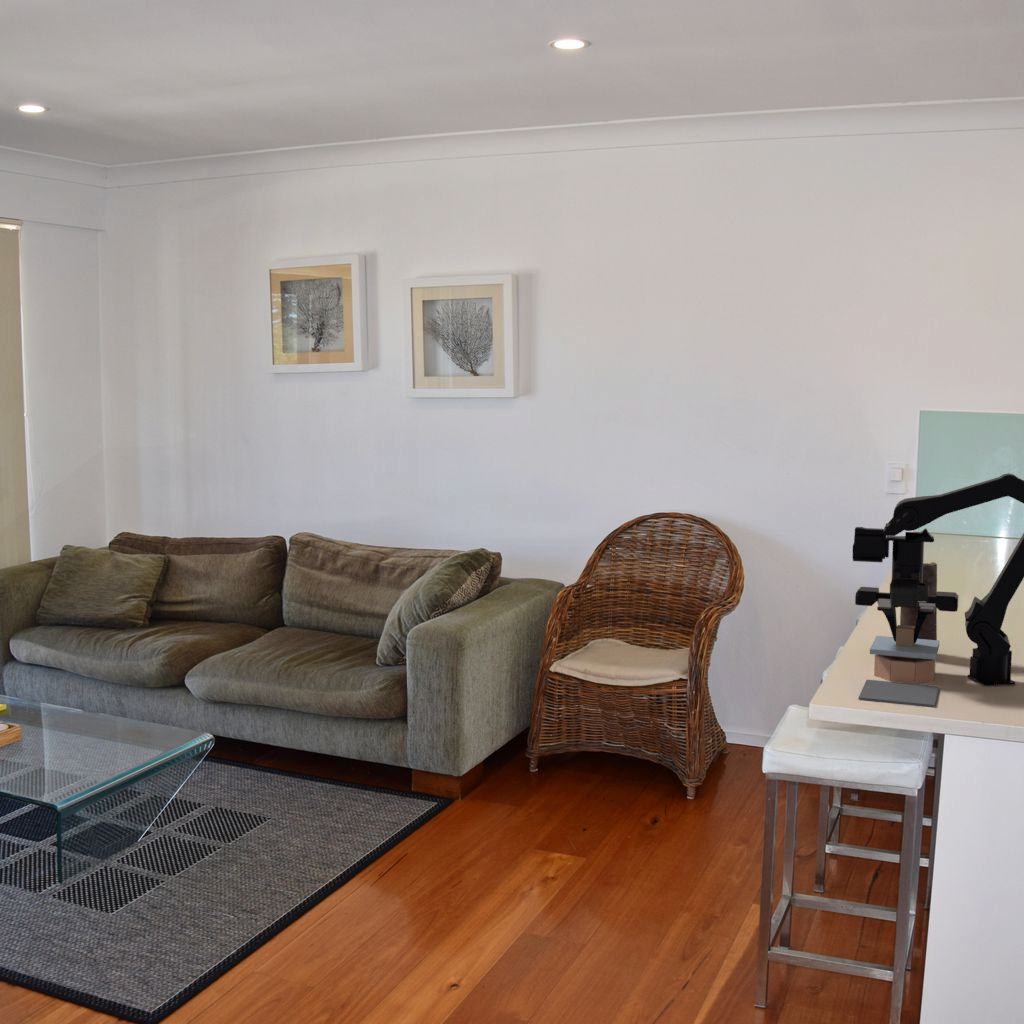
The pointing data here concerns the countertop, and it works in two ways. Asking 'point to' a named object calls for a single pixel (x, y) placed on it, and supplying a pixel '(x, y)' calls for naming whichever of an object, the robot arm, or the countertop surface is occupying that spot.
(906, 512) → the robot arm
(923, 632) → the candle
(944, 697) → the countertop surface
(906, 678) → the dish
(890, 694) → the mat
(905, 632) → the lid
